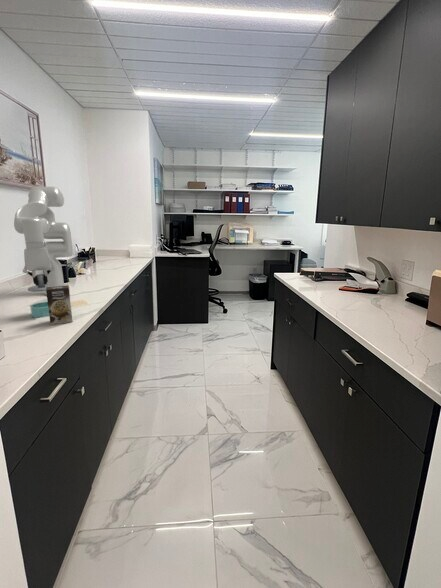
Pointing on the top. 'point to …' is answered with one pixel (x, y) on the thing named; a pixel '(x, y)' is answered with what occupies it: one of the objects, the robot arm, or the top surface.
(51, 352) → the top surface
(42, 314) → the bowl
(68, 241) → the robot arm
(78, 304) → the mat
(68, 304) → the coffee box
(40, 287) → the lid
